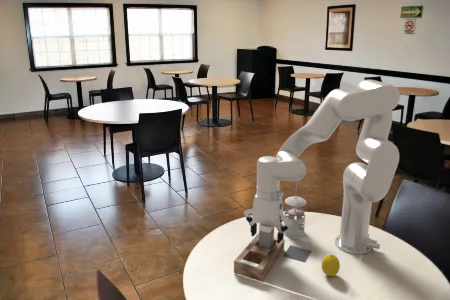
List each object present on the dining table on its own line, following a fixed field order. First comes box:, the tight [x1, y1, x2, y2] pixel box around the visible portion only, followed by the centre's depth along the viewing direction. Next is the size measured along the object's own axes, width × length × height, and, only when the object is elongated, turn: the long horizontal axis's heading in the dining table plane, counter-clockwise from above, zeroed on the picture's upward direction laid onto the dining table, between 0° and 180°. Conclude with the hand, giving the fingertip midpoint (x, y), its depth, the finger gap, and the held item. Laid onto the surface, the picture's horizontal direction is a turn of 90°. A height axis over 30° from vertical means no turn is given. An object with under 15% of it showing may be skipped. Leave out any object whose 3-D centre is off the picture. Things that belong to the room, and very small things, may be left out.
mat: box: [282, 244, 313, 263], centre depth 134 cm, size 8×8×1 cm
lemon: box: [321, 253, 341, 277], centre depth 121 cm, size 6×6×8 cm
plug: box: [258, 223, 275, 249], centre depth 133 cm, size 4×4×12 cm
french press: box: [283, 181, 307, 240], centre depth 145 cm, size 10×12×25 cm
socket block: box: [233, 232, 286, 283], centre depth 130 cm, size 10×20×5 cm, turn 152°
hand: (266, 237), depth 133 cm, fingers open, 9 cm apart
